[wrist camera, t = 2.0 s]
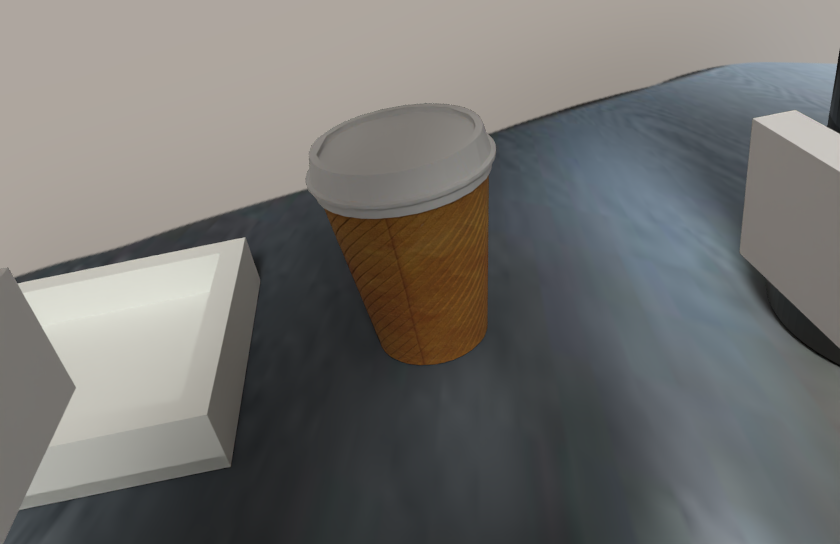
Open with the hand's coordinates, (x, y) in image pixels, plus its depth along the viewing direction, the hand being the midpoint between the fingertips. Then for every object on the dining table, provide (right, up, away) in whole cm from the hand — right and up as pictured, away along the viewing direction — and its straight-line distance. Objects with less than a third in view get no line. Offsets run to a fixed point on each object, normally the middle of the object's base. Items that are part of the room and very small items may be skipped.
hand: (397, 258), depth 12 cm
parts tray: (-21, -7, +28) cm, 36 cm away
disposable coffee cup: (+1, -4, +27) cm, 28 cm away
